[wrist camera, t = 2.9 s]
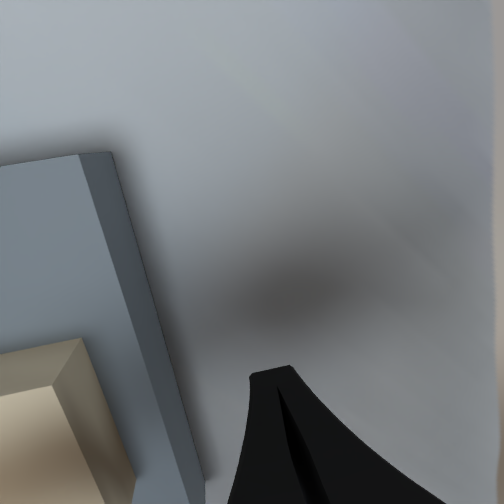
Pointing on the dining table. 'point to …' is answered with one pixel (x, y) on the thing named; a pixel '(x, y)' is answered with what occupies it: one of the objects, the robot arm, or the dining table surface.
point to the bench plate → (95, 308)
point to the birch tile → (58, 431)
